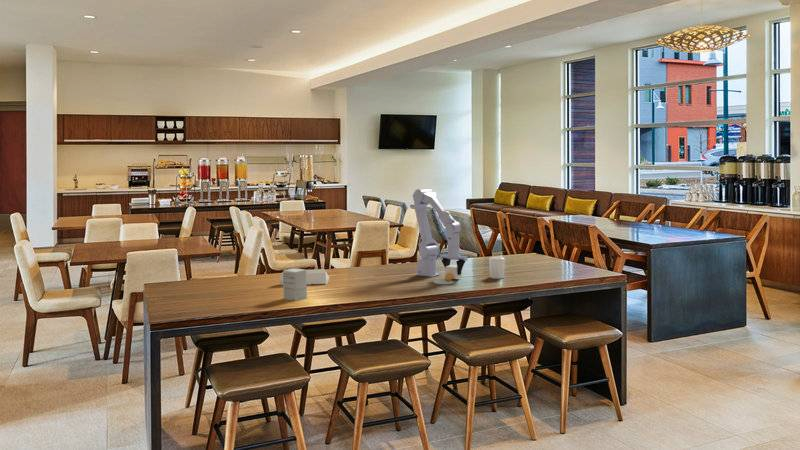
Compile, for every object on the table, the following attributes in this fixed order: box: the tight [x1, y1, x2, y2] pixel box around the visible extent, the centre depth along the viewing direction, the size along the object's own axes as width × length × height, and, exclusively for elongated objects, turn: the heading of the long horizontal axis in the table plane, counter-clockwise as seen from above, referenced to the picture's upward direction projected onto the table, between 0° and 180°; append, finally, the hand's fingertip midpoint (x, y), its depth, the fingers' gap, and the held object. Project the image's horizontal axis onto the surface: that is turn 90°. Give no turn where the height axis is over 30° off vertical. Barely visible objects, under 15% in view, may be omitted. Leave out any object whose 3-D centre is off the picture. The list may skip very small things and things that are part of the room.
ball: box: [444, 273, 453, 281], centre depth 351 cm, size 4×4×4 cm
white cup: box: [488, 256, 506, 280], centre depth 359 cm, size 8×8×10 cm
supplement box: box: [282, 267, 308, 302], centre depth 312 cm, size 7×7×13 cm
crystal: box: [278, 268, 330, 286], centre depth 347 cm, size 7×7×24 cm
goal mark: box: [433, 279, 455, 285], centre depth 348 cm, size 10×10×1 cm
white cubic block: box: [444, 264, 462, 280], centre depth 355 cm, size 6×6×6 cm
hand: (453, 274), depth 355 cm, fingers closed on white cubic block, 6 cm apart
